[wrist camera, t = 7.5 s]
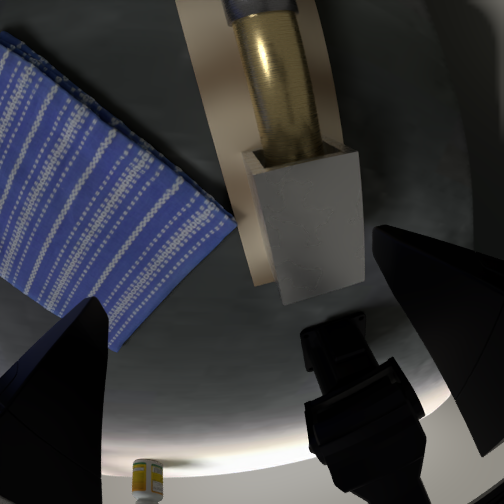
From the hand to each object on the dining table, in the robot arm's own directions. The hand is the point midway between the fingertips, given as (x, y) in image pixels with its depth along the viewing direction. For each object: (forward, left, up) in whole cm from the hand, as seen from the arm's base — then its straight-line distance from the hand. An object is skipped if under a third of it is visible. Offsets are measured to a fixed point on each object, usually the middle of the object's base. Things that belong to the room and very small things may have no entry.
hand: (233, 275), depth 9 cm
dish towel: (+2, +13, -12) cm, 18 cm away
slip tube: (+7, -4, -10) cm, 13 cm away
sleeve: (-3, -4, -11) cm, 12 cm away
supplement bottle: (-43, +27, -12) cm, 52 cm away
